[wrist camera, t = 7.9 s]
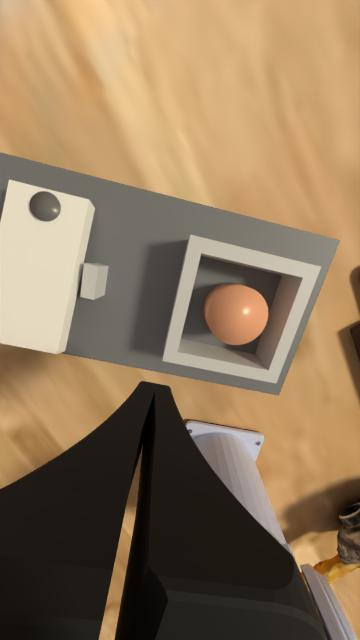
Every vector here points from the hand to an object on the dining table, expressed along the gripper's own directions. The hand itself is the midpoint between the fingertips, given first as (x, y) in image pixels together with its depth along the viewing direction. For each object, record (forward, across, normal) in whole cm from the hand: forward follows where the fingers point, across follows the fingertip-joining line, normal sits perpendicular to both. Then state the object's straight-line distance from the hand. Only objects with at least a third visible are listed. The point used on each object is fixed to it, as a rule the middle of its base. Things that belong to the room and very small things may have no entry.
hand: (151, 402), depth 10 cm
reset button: (+6, -4, -4) cm, 8 cm away
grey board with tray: (+9, +2, -4) cm, 10 cm away
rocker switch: (+5, +8, -4) cm, 10 cm away
